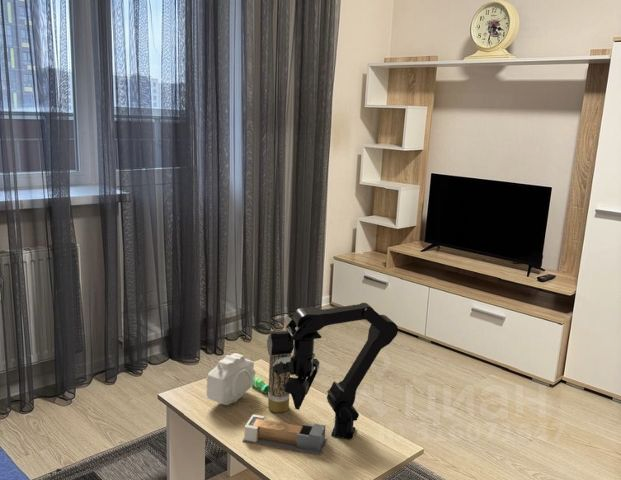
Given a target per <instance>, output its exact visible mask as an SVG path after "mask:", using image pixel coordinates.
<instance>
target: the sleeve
mask: <svg viewBox="0 0 621 480" xmlns="http://www.w3.org/2000/svg"><path fill="white" fill-rule="evenodd" d="M301 426H303V430H302V434H297V448H299V449H305V450H310V451H316V452H321V449H322V446H323V444H324V441H325V439H326V425H324V424H319V423H313V424H306V423H302V424H301Z"/></svg>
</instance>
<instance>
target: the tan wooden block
mask: <svg viewBox="0 0 621 480" xmlns="http://www.w3.org/2000/svg"><path fill="white" fill-rule="evenodd" d="M250 425H251V426H257V427H258V438H260V439H266V440H272V441H277V442H283V443H289V444H294V445H297V434H302V430H303V426H302V425H297V424H289V423H284V422H280V421H279V422H278V421H272V420H267V419H266V420H265V419H264V420H262V419H257V418H254V419H253V421H252V422H251V424H250Z"/></svg>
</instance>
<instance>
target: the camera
mask: <svg viewBox="0 0 621 480" xmlns="http://www.w3.org/2000/svg"><path fill="white" fill-rule="evenodd" d="M254 366H255V364H254V361H252V360H251V359H248V358H245V357H244V355H242V354H241V353H231V354H230V355H229V354H226V355H224V358H222V359H220V360H219V361H218V362H217V365H216V366H214V368H213V369H211V370H210V371H209V372H208V374H207V377H206V397H207V398H208V399H209V400H211V401H213V402H216V403H219V404H222V405H224V406H229V405H231V404H232V403H237V402H238V400H239V399H240V398H242V397H243V396H244V395H245V394H246V393H247V391H249V390H250V388H252V387H254V386H253V384H254V377H256V376H255V375H256V370H255V369H254V368H255V367H254Z"/></svg>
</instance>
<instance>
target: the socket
mask: <svg viewBox="0 0 621 480" xmlns="http://www.w3.org/2000/svg"><path fill="white" fill-rule="evenodd" d="M254 418H257V419H262V420H265V415H258V414H254V413H253V414H252V415H251V416H250V418H249V419H248V421H247V422H246V424H245V426H244V437H243V439H244V440H247V441H253V442H257V440H258V427H257V426H251V425H250V424H251V422H252V421H253V419H254Z"/></svg>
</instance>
